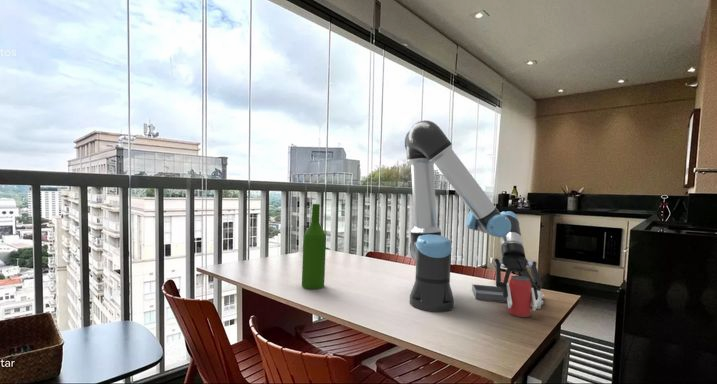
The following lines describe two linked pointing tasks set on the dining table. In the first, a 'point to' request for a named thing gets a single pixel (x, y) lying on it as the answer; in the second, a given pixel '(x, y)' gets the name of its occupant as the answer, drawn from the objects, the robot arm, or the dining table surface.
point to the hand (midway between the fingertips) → (522, 307)
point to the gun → (539, 300)
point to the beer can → (520, 296)
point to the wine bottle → (314, 253)
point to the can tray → (488, 293)
